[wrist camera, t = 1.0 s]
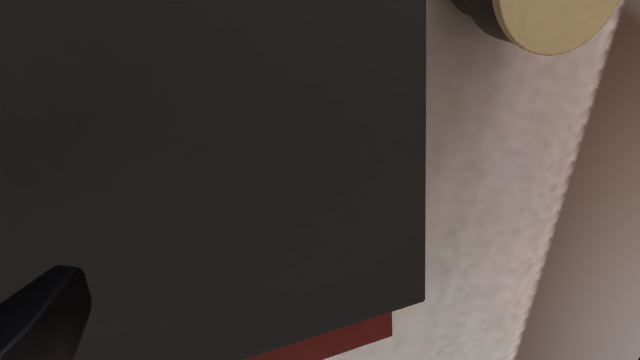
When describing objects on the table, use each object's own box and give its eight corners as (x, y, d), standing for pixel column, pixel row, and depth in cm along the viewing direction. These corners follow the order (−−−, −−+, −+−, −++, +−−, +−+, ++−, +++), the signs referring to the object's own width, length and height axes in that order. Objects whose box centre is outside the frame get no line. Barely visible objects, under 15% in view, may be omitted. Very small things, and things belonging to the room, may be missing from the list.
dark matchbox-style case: (317, 179, 23) (426, 301, 16) (-12, 260, 20) (-60, 460, 13) (278, -251, 17) (429, -365, 10) (-216, -242, 13) (-544, -408, 6)
